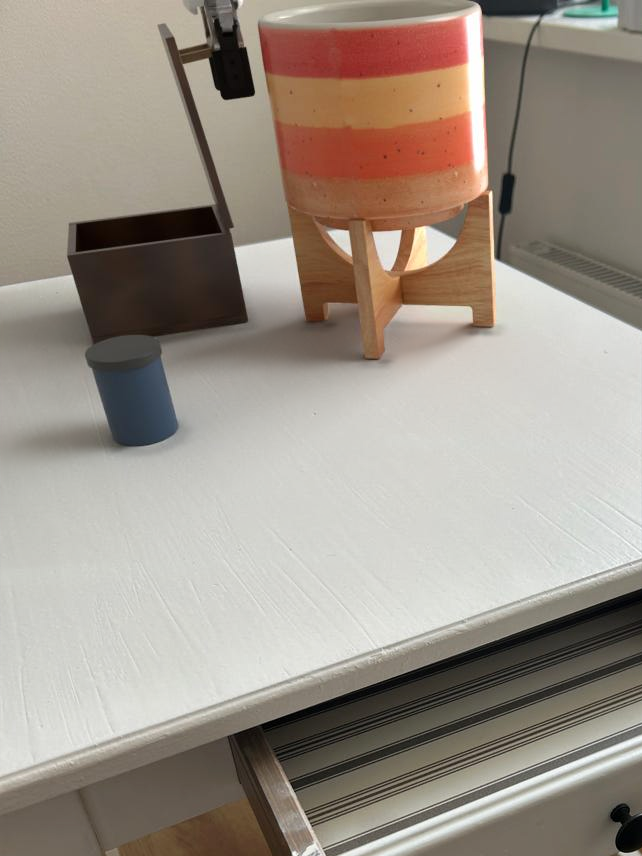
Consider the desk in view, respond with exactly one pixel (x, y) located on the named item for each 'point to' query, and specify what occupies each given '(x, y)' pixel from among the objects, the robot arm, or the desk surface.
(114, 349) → the canister
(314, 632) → the desk surface
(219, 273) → the chest
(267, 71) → the planter
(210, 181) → the lid
